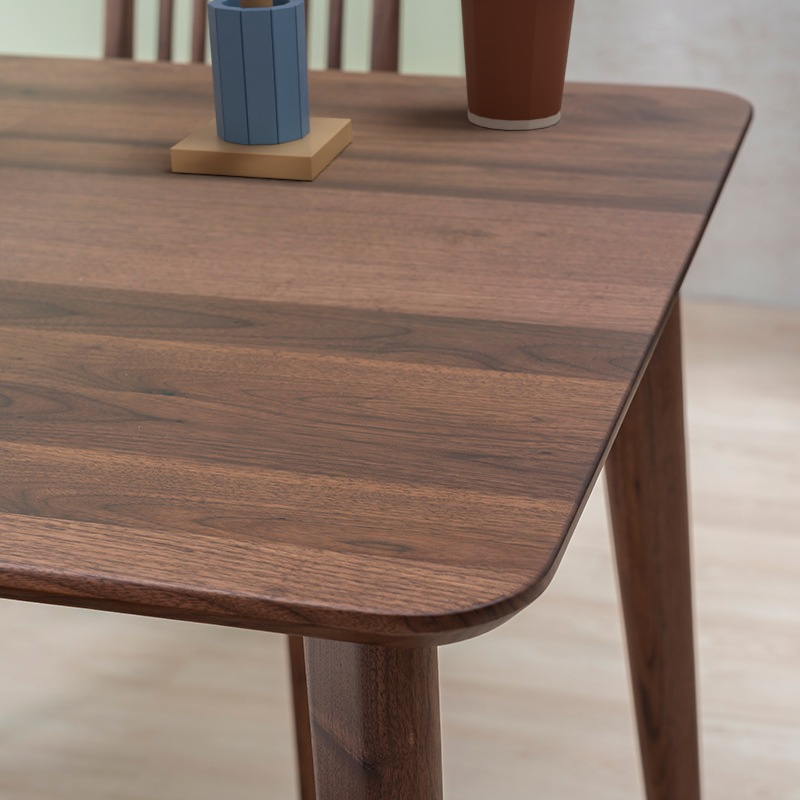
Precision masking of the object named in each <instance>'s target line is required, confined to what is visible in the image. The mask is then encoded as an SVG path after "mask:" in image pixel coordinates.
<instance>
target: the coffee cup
mask: <svg viewBox="0 0 800 800" xmlns="http://www.w3.org/2000/svg"><path fill="white" fill-rule="evenodd" d="M575 2H576V0H460V7H461V8H460V9H461V22H462V39H463V53H464V55H463V56H464V69H465V83H466V84H465V85H466V98H467V100H466V101H467V118H468V121H469V122H470V123H472V124H474V125H476V126H479V127H484V128H488V129H491V130H493V129H494V130H504V131H505V130H506V131H526V130H527V131H528V130H535V129H536V130H537V129H542V128H543V129H544V128H547V127H550V126H553V125H554V126H555V125H556V124H557V123H558V122H559V121H561V110H562V104H563V95H564V87H565V80H566V72H567V64H568V58H569V57H568V56H569V50H570V49H569V48H570V41H571V34H572V33H571V32H572V27H573V26H572V25H573V17H574V10H575V4H576V3H575Z"/></svg>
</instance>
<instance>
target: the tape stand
mask: <svg viewBox="0 0 800 800" xmlns="http://www.w3.org/2000/svg"><path fill="white" fill-rule="evenodd" d="M239 5H240V8H263V7H273V0H239ZM309 121H310V132H309V133H308V134H307V135H306V136H304V137H303V138H302V139H298V140H294V141H290V142H285V143H281V144H279V143H277V144H270V145H250V144H249V145H243V144H237V143H231V142H226V141H224V140H223V139H222V138H220V137H219V136H218V135H217V126H216V116H214V118H212V119H211V120H209V121H208V122H207V123H204V124H203V125H202V126H201V127H199V128H197V130H194V131H193V132H192V133H191V134H189V135H187V136H186V137H184V138H183V139H181V140H180V141H179V142H177V143H176V144H175V145H173V146H172V147H170V148H169V154H170V163H171V172H172V173H180V174H181V173H184V174H195V175H196V174H197V175H213V176H228V177H229V176H230V177H231V176H232V177H245V178H246V177H247V178H260V179H261V178H262V179H276V180H277V179H278V180H279V179H280V180H294V181H311V182H312V181H313V180H315V179H316V178H317V177H318V176H319V175H320V174H321V173H322V172H323V171H324V170H325V168H327V167H328V166H329V164H330V163H332V162H333V160H334V159H336V158H337V157H338V156H339V154H341V153H342V152H343V151H344V149H346V148H347V147H348V146H349V145H350V144H351V142H353V129H352V127H353V126H352V119H351V118H340V117H320V116H319V117H318V116H309Z"/></svg>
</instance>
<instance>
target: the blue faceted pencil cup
mask: <svg viewBox="0 0 800 800" xmlns="http://www.w3.org/2000/svg"><path fill="white" fill-rule="evenodd" d="M206 8H207V21H208V23H207V24H208V35H209V36H208V37H209V44H210V45H209V48H210V59H211V71H212V72H211V73H212V74H211V75H212V87H213V98H214V99H213V100H214V113H215V117H216V126H217V135H218V136H219V137H220V138H222V139H223V140H224V141H226V142H231V143H237V144H243V145H249V144H250V145H270V144H277V143H279V144H281V143H285V142H290V141H294V140H298V139H302V138H303V137H304V136H306V135H307V134H308V133H309V132H310V121H309V117H310V102H309V101H310V100H309V79H308V78H309V75H308V56H307V53H308V51H307V36H306V35H307V33H306V11H305V8H306V7H305V0H273V7H263V8H240V5H239V0H211V1H209V2H207V3H206Z"/></svg>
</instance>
